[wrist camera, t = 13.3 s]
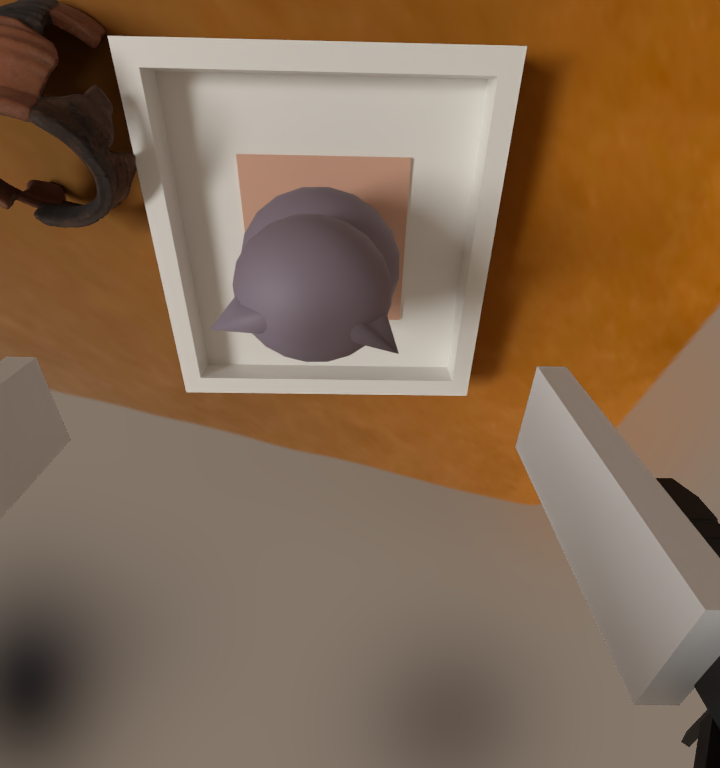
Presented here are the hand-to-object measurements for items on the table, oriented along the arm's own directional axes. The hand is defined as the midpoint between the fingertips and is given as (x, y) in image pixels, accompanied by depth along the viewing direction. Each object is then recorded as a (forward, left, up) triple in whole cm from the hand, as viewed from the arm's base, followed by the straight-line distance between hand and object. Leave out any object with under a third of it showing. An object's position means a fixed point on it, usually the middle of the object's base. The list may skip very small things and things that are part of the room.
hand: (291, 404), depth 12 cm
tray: (0, 0, -19) cm, 19 cm away
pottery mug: (+16, -7, -20) cm, 26 cm away
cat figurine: (0, 0, -18) cm, 18 cm away
